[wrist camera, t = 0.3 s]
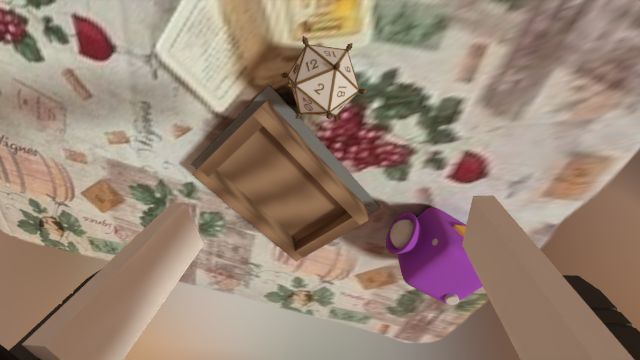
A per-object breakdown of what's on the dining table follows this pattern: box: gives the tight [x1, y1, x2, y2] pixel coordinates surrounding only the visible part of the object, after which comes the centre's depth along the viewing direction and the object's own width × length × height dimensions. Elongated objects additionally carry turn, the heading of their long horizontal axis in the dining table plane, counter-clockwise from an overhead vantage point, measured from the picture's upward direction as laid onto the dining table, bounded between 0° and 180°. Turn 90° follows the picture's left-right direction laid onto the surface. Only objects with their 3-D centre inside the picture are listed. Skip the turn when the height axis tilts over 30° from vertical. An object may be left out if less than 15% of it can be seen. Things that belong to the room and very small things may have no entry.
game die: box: [281, 36, 367, 121], centre depth 28 cm, size 9×8×10 cm
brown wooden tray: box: [192, 101, 368, 261], centre depth 38 cm, size 22×15×4 cm
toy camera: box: [386, 207, 483, 305], centre depth 37 cm, size 11×14×10 cm
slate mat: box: [191, 85, 380, 215], centre depth 40 cm, size 24×18×1 cm
